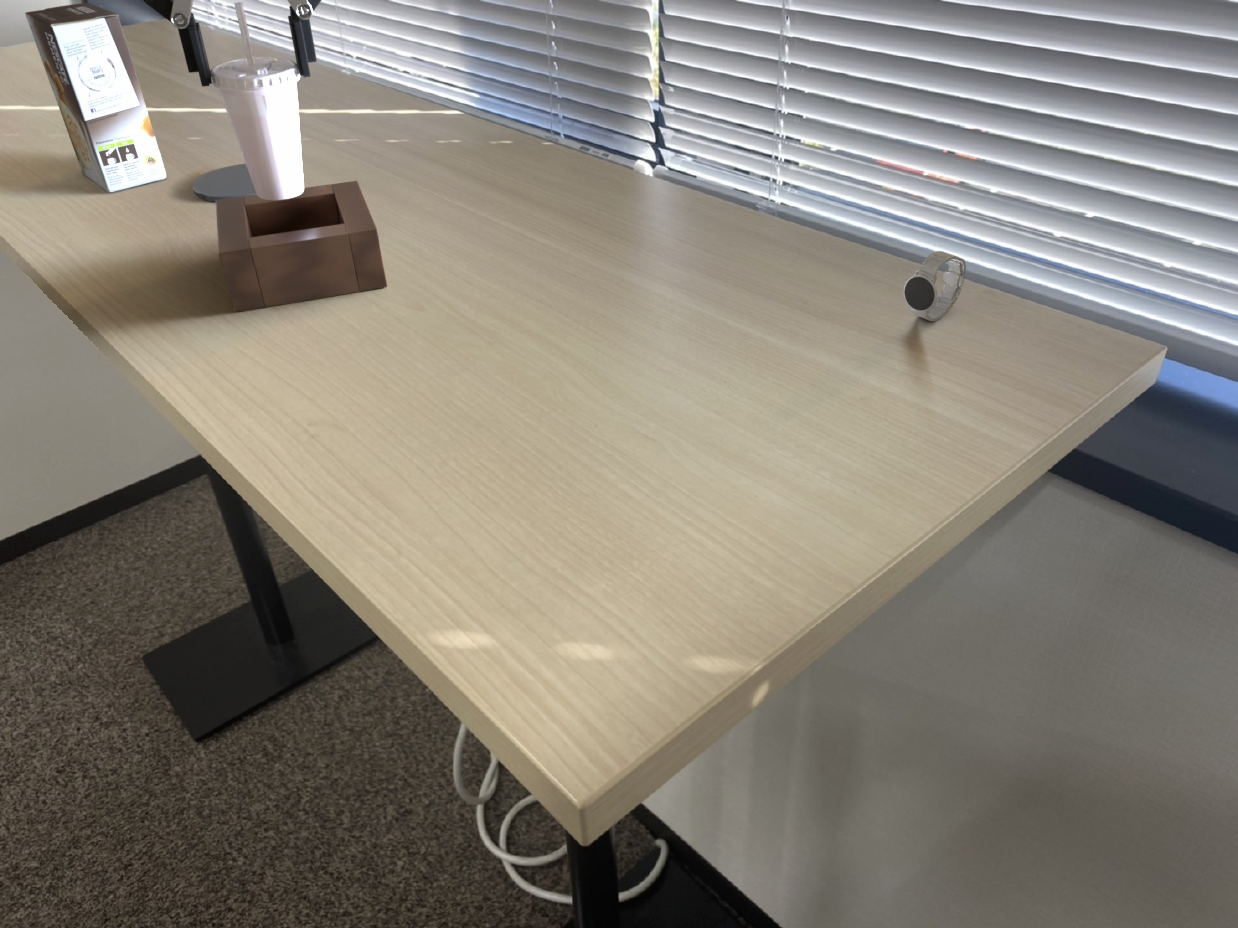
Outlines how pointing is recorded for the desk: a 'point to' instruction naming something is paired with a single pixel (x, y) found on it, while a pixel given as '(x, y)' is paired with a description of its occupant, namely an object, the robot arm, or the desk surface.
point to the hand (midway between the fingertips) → (255, 75)
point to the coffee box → (98, 94)
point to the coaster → (224, 183)
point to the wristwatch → (924, 291)
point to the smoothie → (264, 117)
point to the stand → (298, 246)
